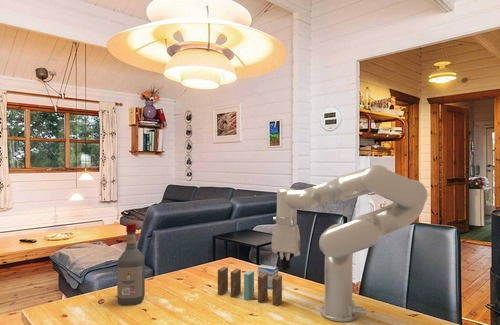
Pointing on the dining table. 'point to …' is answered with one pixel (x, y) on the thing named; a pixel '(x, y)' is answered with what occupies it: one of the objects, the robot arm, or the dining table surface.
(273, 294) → the domino
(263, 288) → the domino
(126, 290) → the liquor
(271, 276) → the medicine box
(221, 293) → the domino
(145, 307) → the dining table surface
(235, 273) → the domino
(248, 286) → the domino
